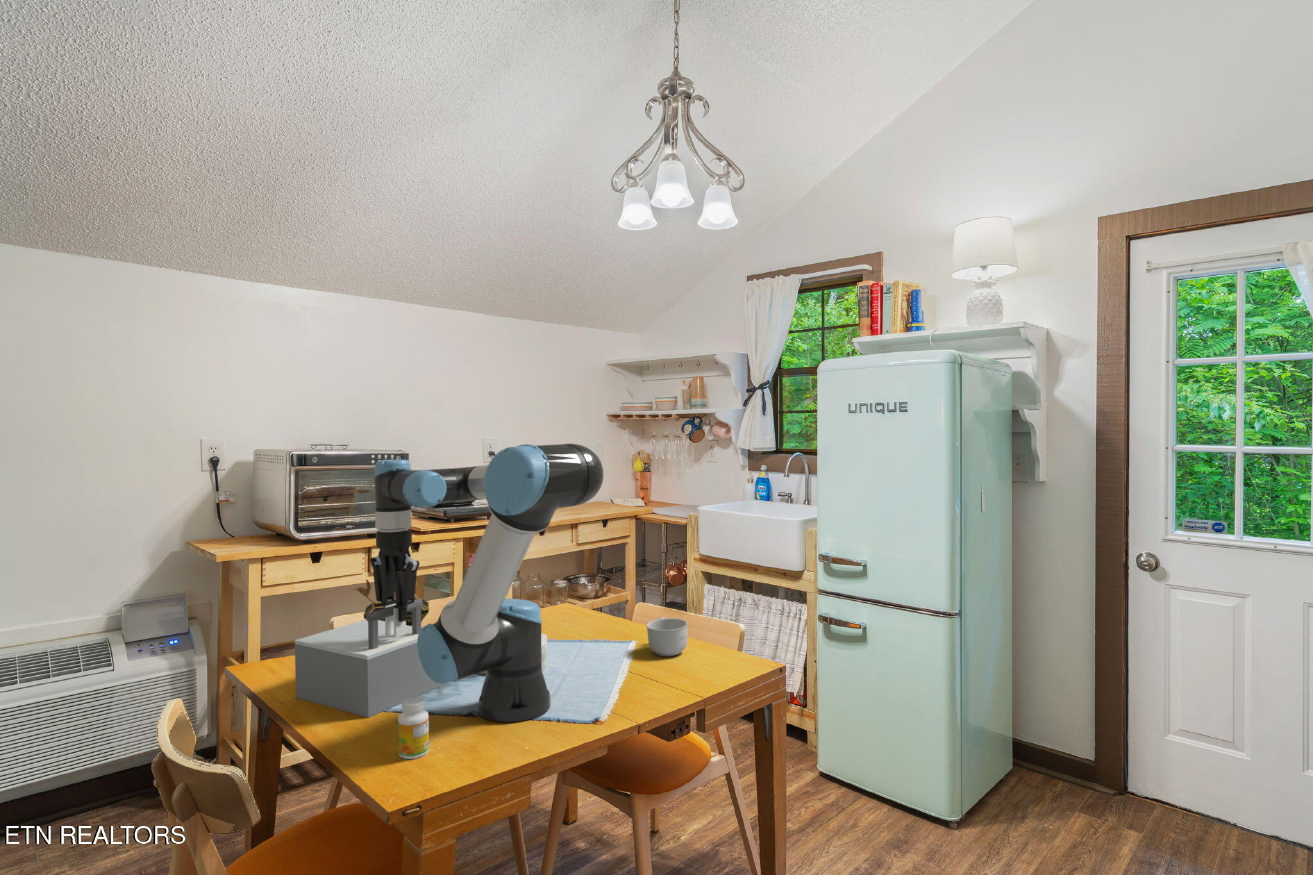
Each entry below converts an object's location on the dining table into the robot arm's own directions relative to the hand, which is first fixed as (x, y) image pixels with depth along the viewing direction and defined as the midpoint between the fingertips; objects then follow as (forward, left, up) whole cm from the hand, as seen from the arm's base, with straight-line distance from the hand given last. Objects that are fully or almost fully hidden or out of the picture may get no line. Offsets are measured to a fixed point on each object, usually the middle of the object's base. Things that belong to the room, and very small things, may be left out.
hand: (395, 634), depth 159 cm
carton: (+9, 0, -14) cm, 17 cm away
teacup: (-38, -57, -15) cm, 70 cm away
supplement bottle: (-24, +17, -15) cm, 33 cm away
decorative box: (+33, -27, -15) cm, 45 cm away
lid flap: (+9, 0, -2) cm, 9 cm away
